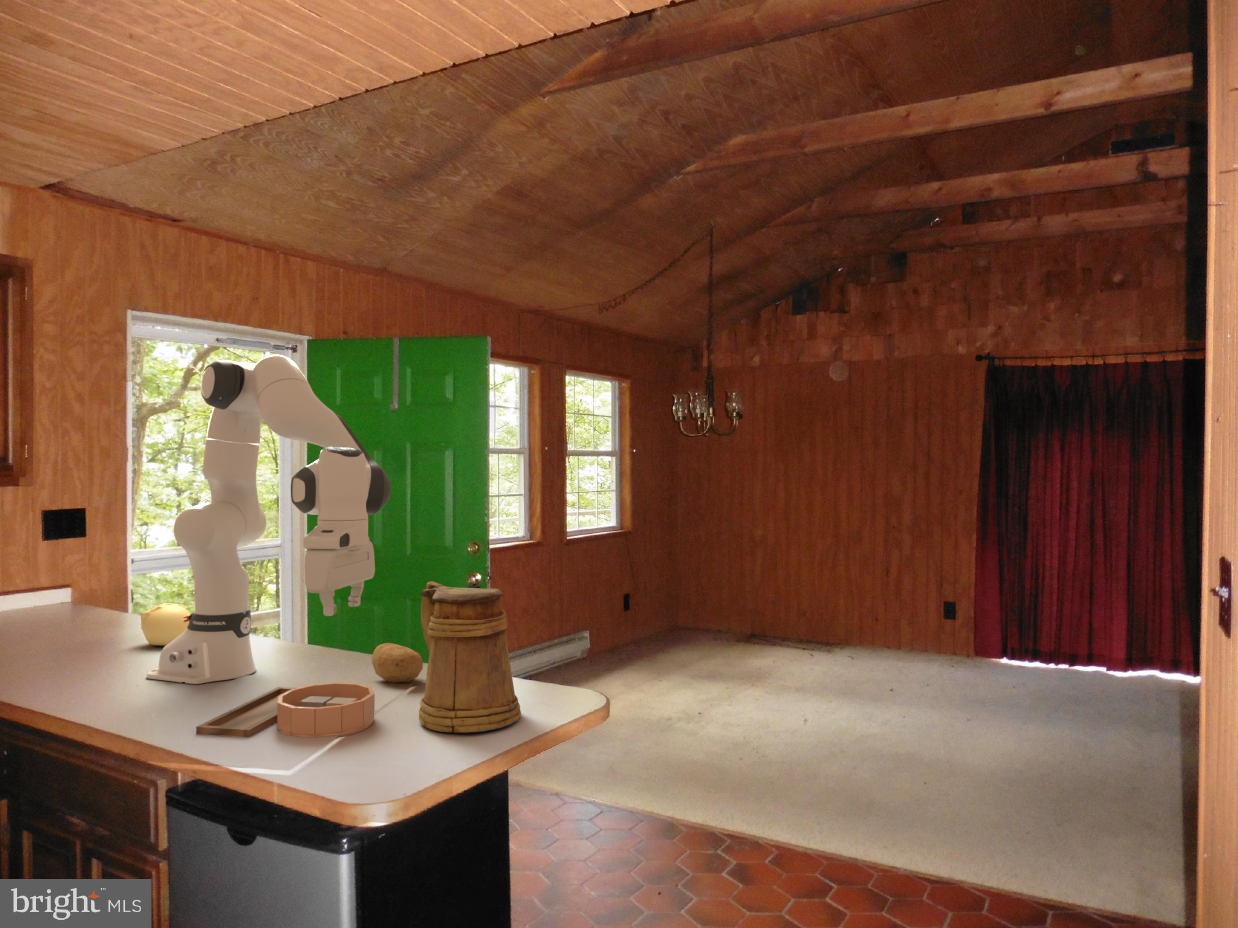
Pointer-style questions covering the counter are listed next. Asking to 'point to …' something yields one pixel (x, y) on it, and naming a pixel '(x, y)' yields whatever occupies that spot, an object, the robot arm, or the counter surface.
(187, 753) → the counter surface
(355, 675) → the counter surface
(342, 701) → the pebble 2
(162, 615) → the yellow apple
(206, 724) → the parts tray
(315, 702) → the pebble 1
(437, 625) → the tankard
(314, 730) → the bowl
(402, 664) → the potato
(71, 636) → the counter surface
